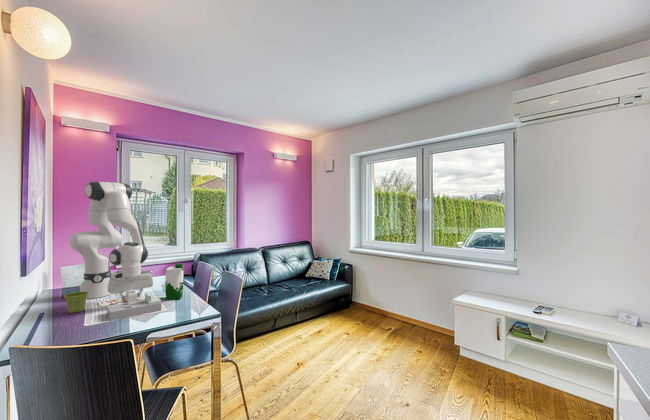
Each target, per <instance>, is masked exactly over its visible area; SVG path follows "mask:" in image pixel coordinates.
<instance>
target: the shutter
mask: <svg viewBox="0 0 650 420" xmlns="http://www.w3.org/2000/svg"><path fill="white" fill-rule="evenodd" d="M144 300H145V301H146V302H147V303H148V304H153V303H159V302H161V303H162V300H161V299H160V298H159V297H158V296H152V295H151V294H150V293H148V292H145V293H144Z"/></svg>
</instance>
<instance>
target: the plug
mask: <svg viewBox="0 0 650 420" xmlns="http://www.w3.org/2000/svg"><path fill="white" fill-rule="evenodd" d="M137 298H138V297H137V292H136V291H135V290H128V291H125V299H126V301H127V302H133V301H137V300H138V299H137Z"/></svg>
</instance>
